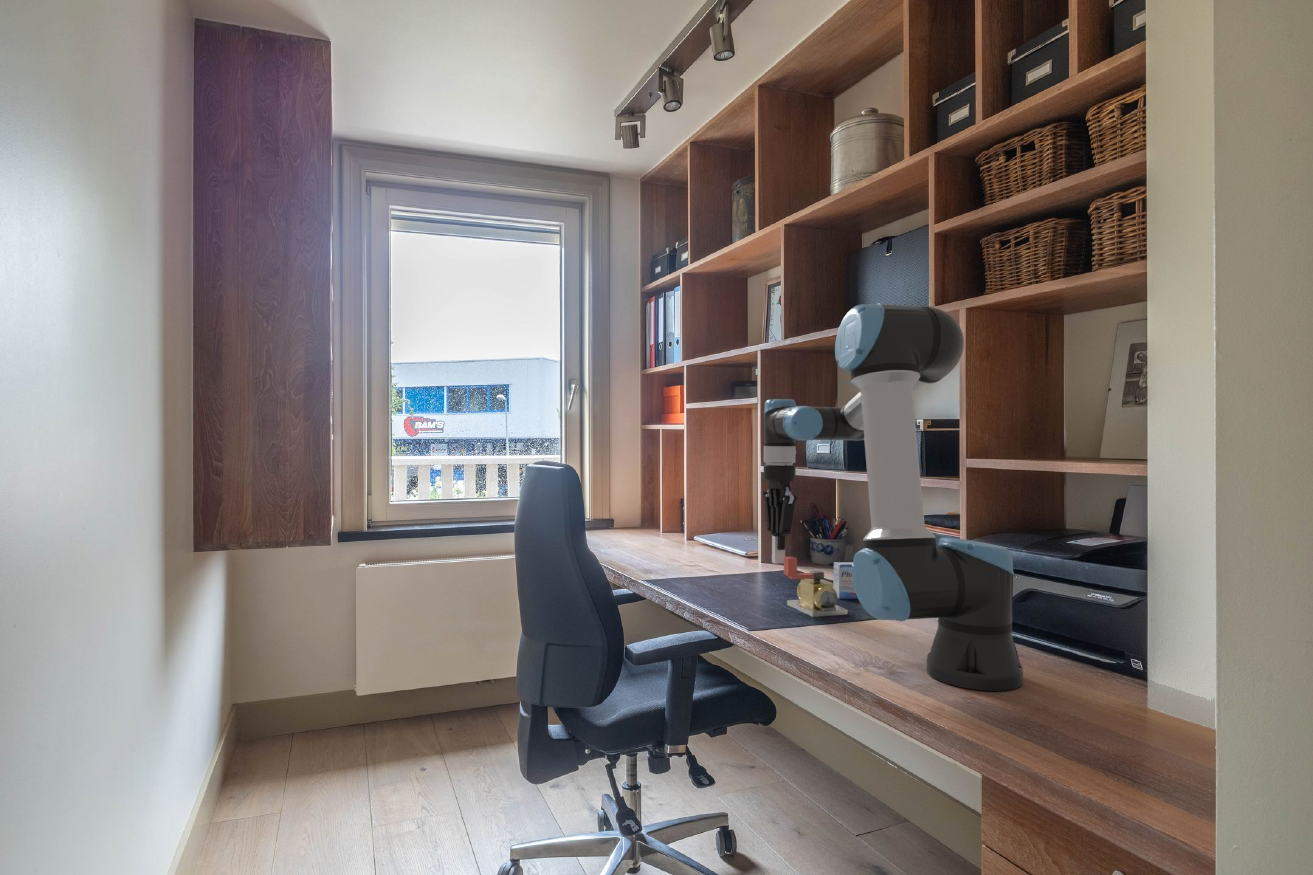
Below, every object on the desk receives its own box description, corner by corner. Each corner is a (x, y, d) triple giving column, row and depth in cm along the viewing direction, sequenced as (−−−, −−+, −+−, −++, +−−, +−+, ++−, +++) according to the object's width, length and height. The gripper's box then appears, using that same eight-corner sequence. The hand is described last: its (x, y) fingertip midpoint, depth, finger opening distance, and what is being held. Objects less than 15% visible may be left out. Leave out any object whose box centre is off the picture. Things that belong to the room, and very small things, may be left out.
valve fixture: (847, 614, 167) (847, 583, 167) (812, 616, 164) (812, 585, 164) (820, 602, 178) (820, 573, 178) (787, 604, 176) (787, 575, 176)
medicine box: (838, 599, 182) (839, 564, 182) (832, 595, 186) (833, 561, 186) (869, 599, 183) (869, 564, 182) (862, 595, 187) (863, 561, 187)
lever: (826, 579, 170) (826, 557, 170) (789, 581, 167) (789, 558, 167) (819, 576, 173) (819, 554, 173) (782, 578, 170) (782, 556, 170)
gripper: (807, 465, 169) (806, 567, 170) (781, 462, 182) (779, 557, 182) (778, 465, 167) (776, 568, 167) (753, 462, 179) (752, 558, 180)
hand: (778, 562), depth 175 cm, fingers closed
